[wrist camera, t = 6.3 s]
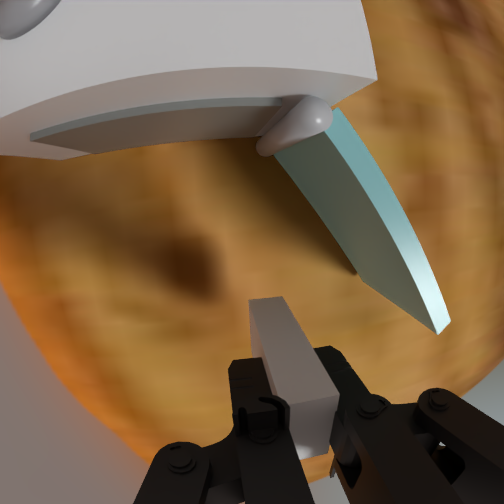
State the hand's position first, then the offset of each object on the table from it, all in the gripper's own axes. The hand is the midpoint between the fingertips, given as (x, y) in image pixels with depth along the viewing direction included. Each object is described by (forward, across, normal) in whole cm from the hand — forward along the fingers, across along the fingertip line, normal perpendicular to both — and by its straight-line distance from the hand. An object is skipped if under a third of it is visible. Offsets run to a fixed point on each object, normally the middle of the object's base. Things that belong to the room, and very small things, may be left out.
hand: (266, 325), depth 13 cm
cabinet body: (+3, -4, +17) cm, 17 cm away
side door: (+3, +4, +5) cm, 7 cm away
